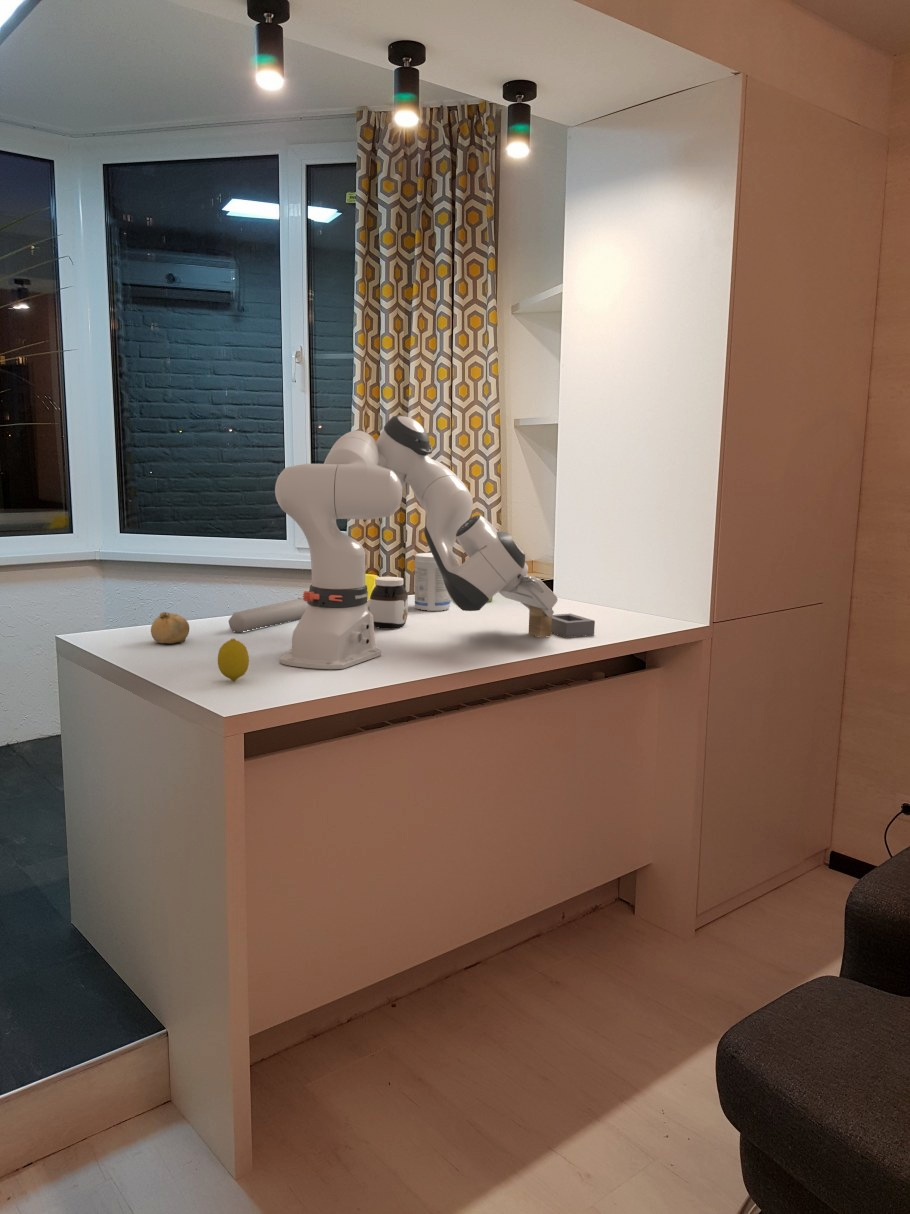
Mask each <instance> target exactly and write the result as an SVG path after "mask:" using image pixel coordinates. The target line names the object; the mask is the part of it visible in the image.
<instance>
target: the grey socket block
mask: <svg viewBox="0 0 910 1214" xmlns="http://www.w3.org/2000/svg"><path fill="white" fill-rule="evenodd" d="M595 623H596V621H595V620H594V619H591V618H587V617H584V616H580V615H577V614H573V613H560V614H553V615H552V622H551V632H552V633H551V634H554V633H555V634H554V635H556V634H558V635H557V636H559V635H561V636H560V637H562V636H564V637H563V638H565V637H569V638H575V637H574V636H580V637H586V636H585V635H591V636H595V628H596V627H595Z"/></svg>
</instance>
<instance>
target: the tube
mask: <svg viewBox="0 0 910 1214" xmlns="http://www.w3.org/2000/svg"><path fill="white" fill-rule="evenodd" d="M303 598H304V597H297V599H292V600H287V601H282V602H278V603H274V604H269V605H264V606H260V607H255V608H250V609H249V608H248V609H246V610H240V611H237V612H233V614H232V615H231V616H230V618H229V619H228V626H229V628H230V630H231V631H232V632H233V631H235V632H234V633H238V632H243V631H247V630H252V629H256V628H260V627H265V626H270V625H274V626H276V625H275V624H278V625H281V624H280V623H282V624H285V623H284V622H287V623H289V622H288V621H291V622H295V621H299V620H298V619H301V617H302V616H303V614H304V612H305V611H306V609H307V607H308V603H307V601H304V599H303ZM294 620H295V621H294ZM270 627H271V626H270ZM265 628H266V627H265ZM252 631H253V630H252Z"/></svg>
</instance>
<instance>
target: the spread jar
mask: <svg viewBox="0 0 910 1214" xmlns="http://www.w3.org/2000/svg"><path fill="white" fill-rule="evenodd" d="M374 585H375V586H374V587H373V589H372V591H371V593H370V597H369V599H367V603H366V606H367V608H368V610H369V612H370V613H371V614H372V615H373V620H374V628H377V627H379V628H378V629H381V628H397V629H401V628H400V627H402V628H403V627H404V626H405V624H406V623H407V620H408V612H409V611H408V609H409V608H408V607H409V606H408V605H409V596H408V595H409V594H408V592H407V589H406V588H405V587H404V578H403V577H397V576H379V577H375V578H374Z"/></svg>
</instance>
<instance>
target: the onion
mask: <svg viewBox="0 0 910 1214" xmlns="http://www.w3.org/2000/svg"><path fill="white" fill-rule="evenodd" d="M189 634H190V624H189V622H188V621H187V619H186V618H185V617H184V616H182V615H180V614H178V613H170V612H166V611H162V612H160V613H159V616H157V617H156V618H155V619H153V622H152V624H151V627H150V635H151V637H152V638H153V640H154V641H155V642H156V643H159V644H175V643H179V644H181V643H184V642H186V639H187V637H188V635H189Z"/></svg>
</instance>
